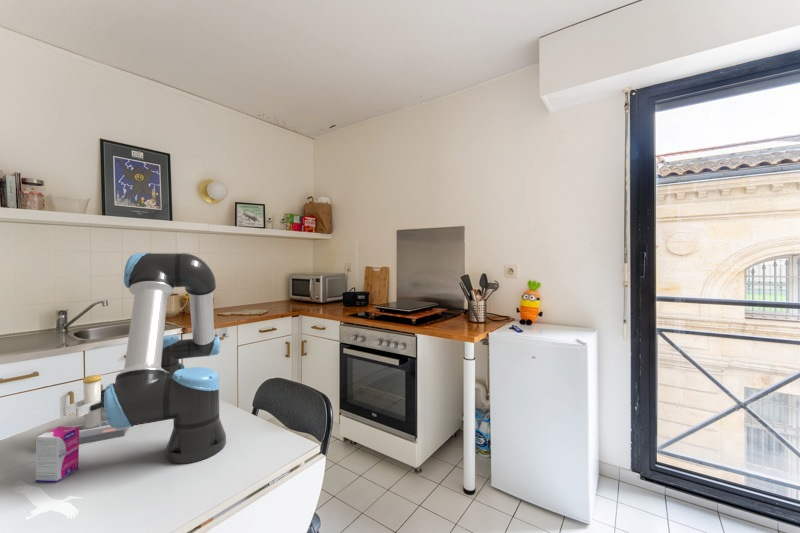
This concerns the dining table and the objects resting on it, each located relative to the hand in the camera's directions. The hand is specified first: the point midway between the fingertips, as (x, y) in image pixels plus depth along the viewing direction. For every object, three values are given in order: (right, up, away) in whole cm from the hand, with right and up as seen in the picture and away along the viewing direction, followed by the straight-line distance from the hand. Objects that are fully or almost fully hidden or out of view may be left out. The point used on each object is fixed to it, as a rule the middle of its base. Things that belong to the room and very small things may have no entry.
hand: (71, 411), depth 101 cm
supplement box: (+10, -11, -14) cm, 20 cm away
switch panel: (0, -10, +5) cm, 11 cm away
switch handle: (+1, -8, +6) cm, 10 cm away
